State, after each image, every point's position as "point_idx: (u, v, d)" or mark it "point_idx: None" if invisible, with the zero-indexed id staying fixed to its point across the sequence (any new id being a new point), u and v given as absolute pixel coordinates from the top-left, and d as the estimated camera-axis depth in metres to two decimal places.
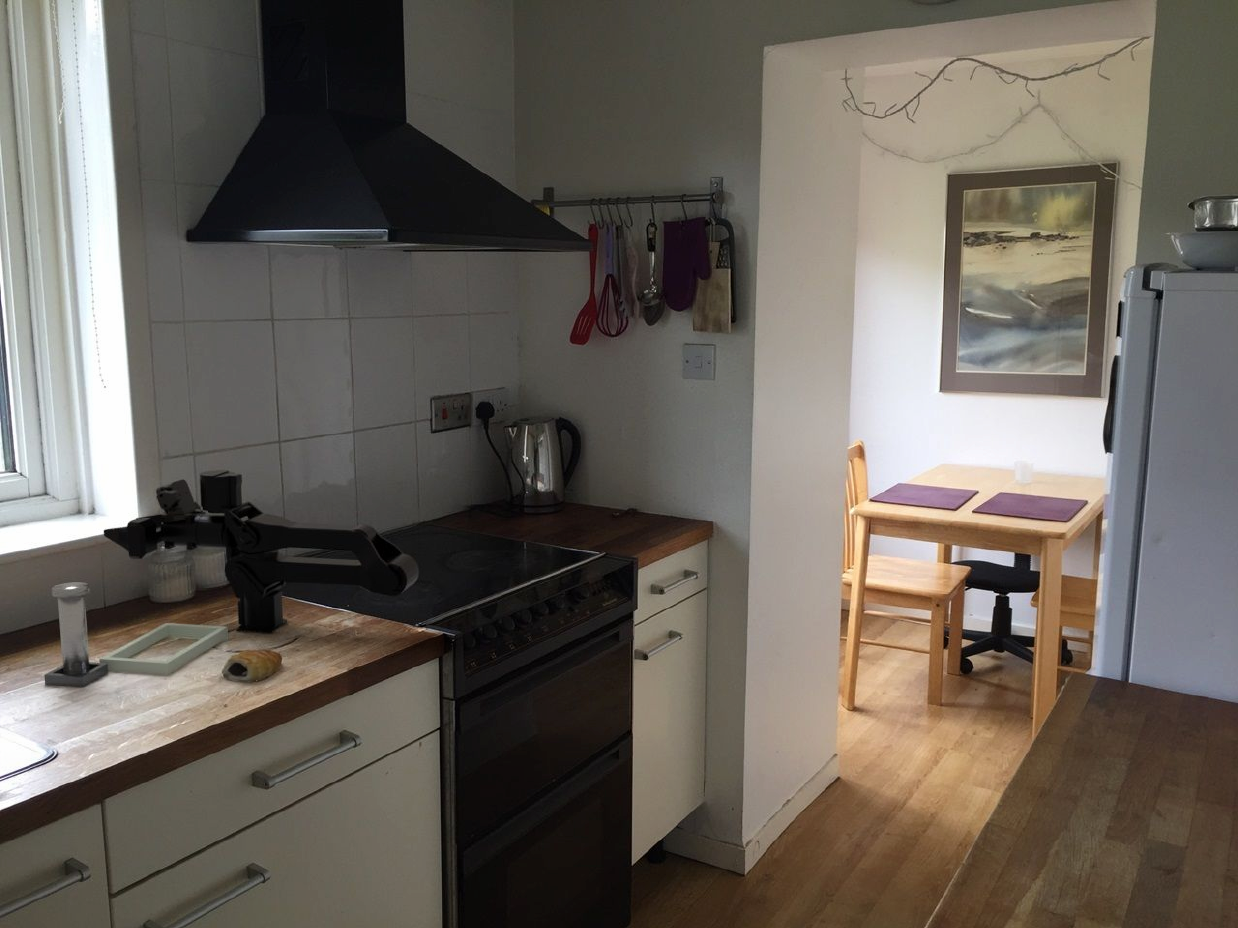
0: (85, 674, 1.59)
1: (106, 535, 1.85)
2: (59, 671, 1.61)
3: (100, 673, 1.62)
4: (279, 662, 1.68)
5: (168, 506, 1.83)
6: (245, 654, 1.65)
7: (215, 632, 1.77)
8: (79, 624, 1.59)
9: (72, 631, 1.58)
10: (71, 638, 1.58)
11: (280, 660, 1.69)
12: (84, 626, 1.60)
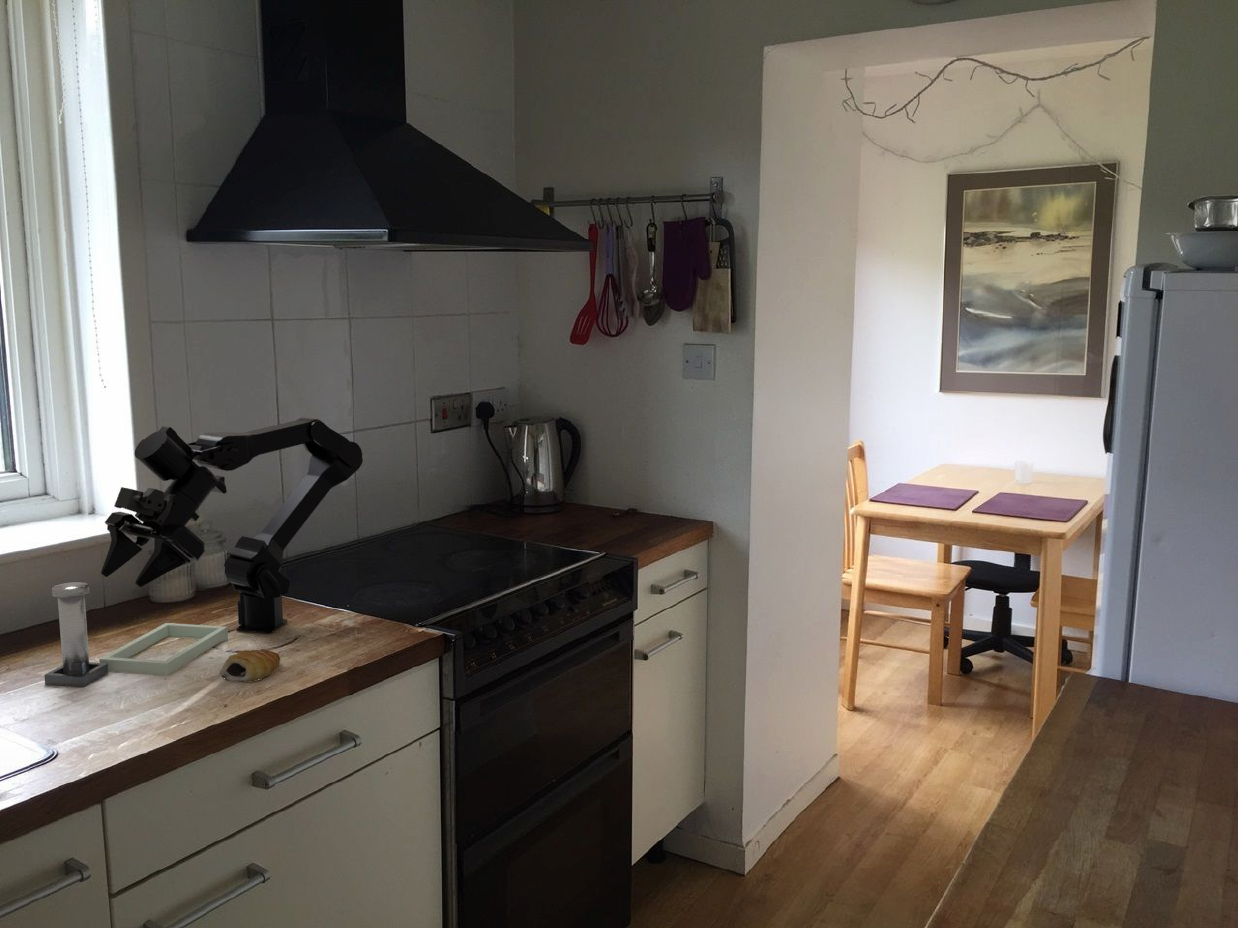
0: (85, 674, 1.59)
1: (143, 583, 1.64)
2: (59, 671, 1.61)
3: (100, 673, 1.62)
4: (277, 662, 1.68)
5: (162, 502, 1.66)
6: (243, 654, 1.65)
7: (215, 632, 1.77)
8: (79, 624, 1.59)
9: (72, 631, 1.58)
10: (71, 638, 1.58)
11: (278, 660, 1.69)
12: (84, 626, 1.60)
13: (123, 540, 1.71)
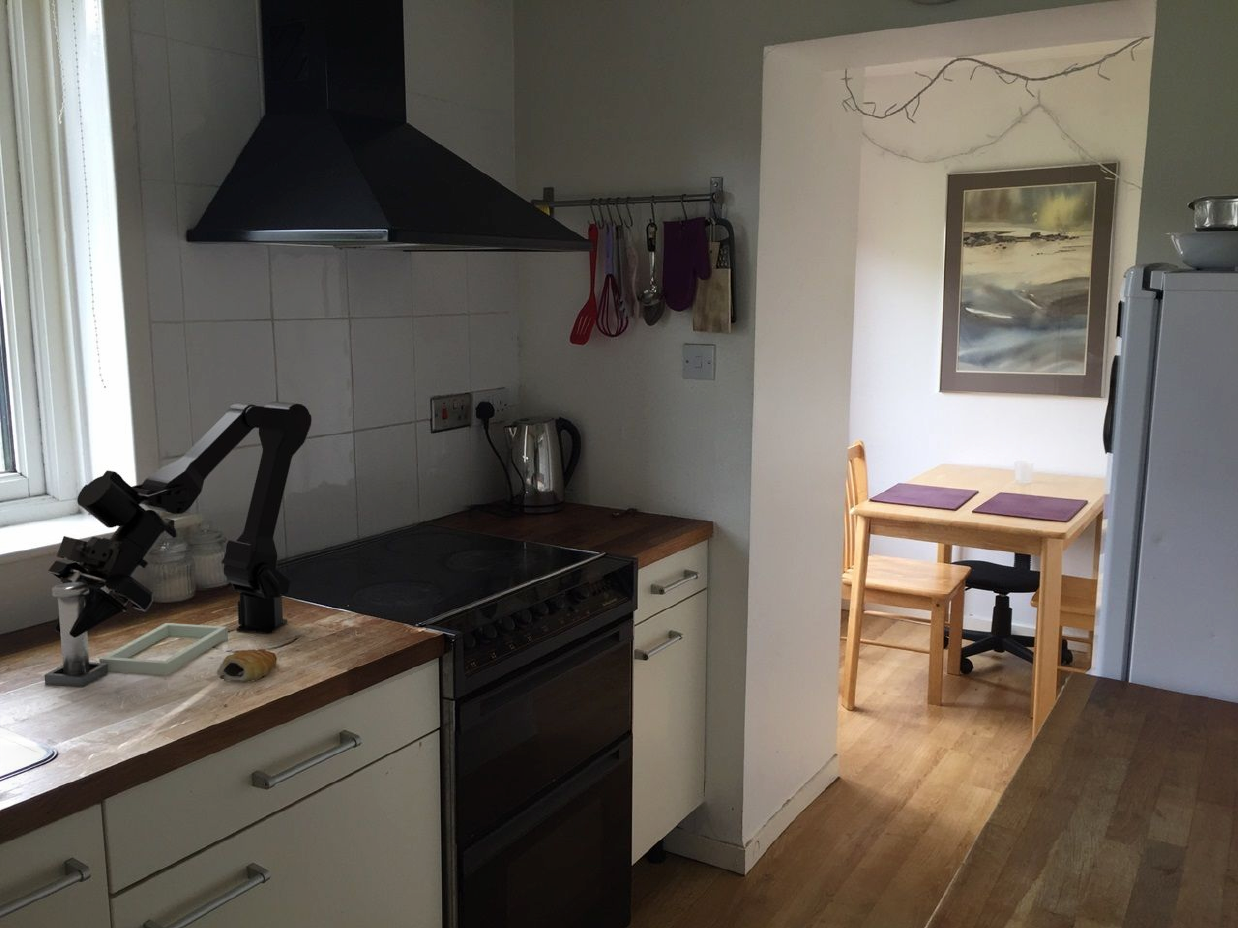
0: (85, 674, 1.59)
1: (78, 634, 1.58)
2: (59, 671, 1.61)
3: (100, 673, 1.62)
4: (274, 662, 1.68)
5: (107, 551, 1.58)
6: (240, 654, 1.65)
7: (215, 632, 1.77)
8: None
9: None
10: (71, 638, 1.58)
11: (275, 660, 1.69)
12: None
13: None
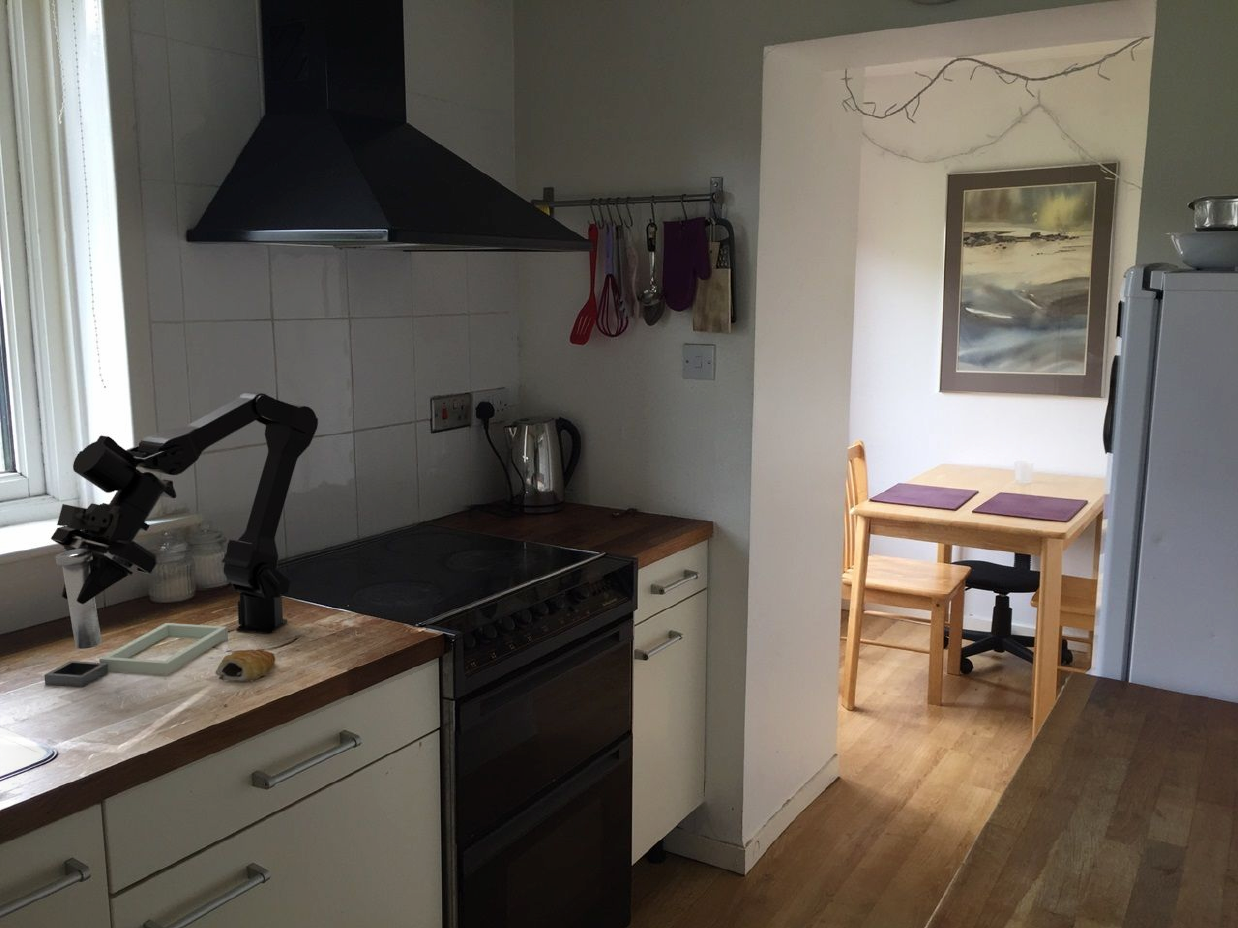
0: (85, 674, 1.59)
1: (85, 600, 1.58)
2: (59, 671, 1.61)
3: (100, 673, 1.62)
4: (272, 662, 1.68)
5: (107, 517, 1.58)
6: (239, 654, 1.65)
7: (215, 632, 1.77)
8: None
9: None
10: (79, 605, 1.59)
11: (273, 660, 1.69)
12: None
13: None
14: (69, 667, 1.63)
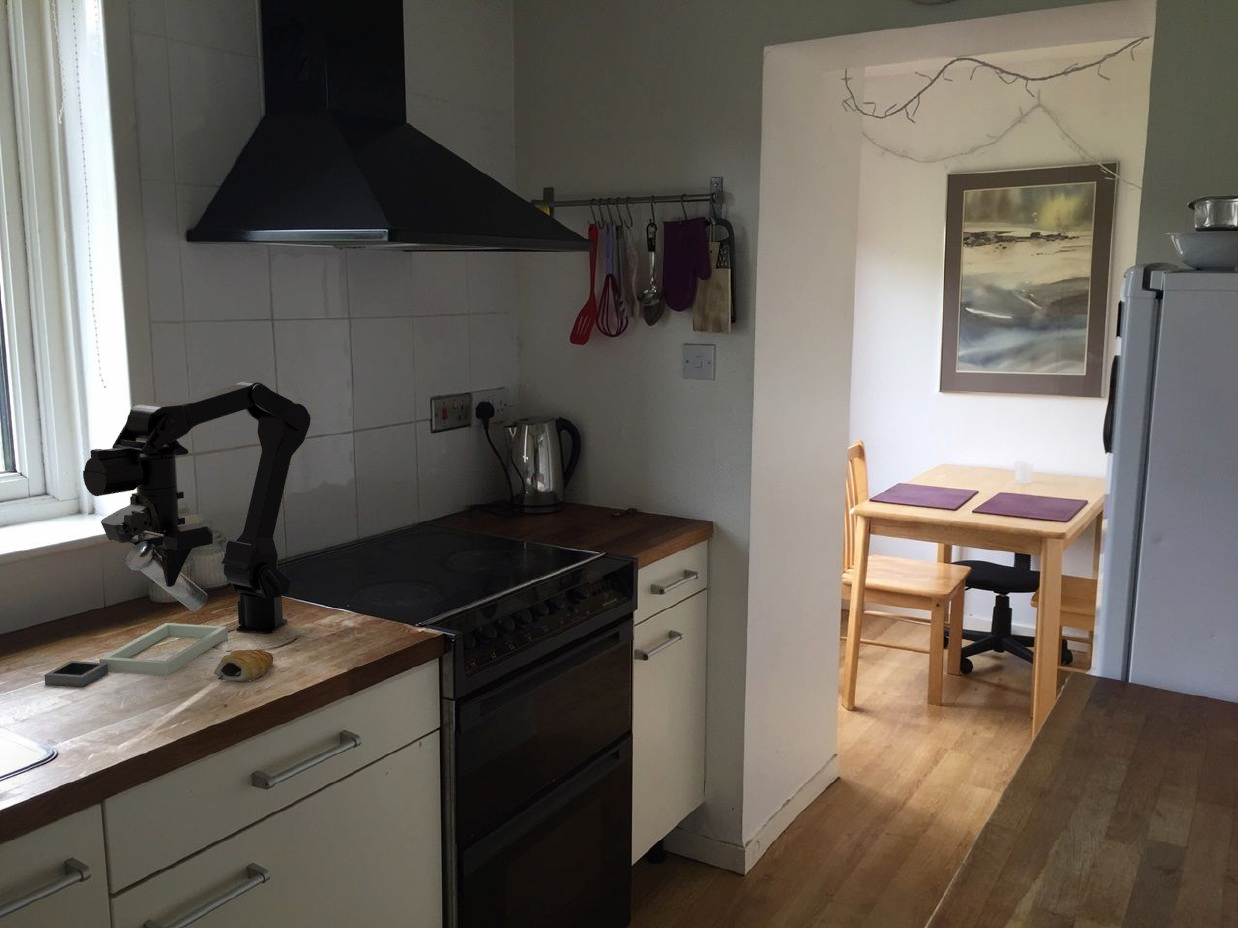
0: (85, 674, 1.59)
1: (173, 582, 1.70)
2: (59, 671, 1.61)
3: (100, 673, 1.62)
4: (271, 662, 1.69)
5: (146, 519, 1.63)
6: (238, 654, 1.65)
7: (215, 632, 1.77)
8: None
9: None
10: (171, 586, 1.71)
11: (272, 660, 1.69)
12: None
13: None
14: (69, 667, 1.63)
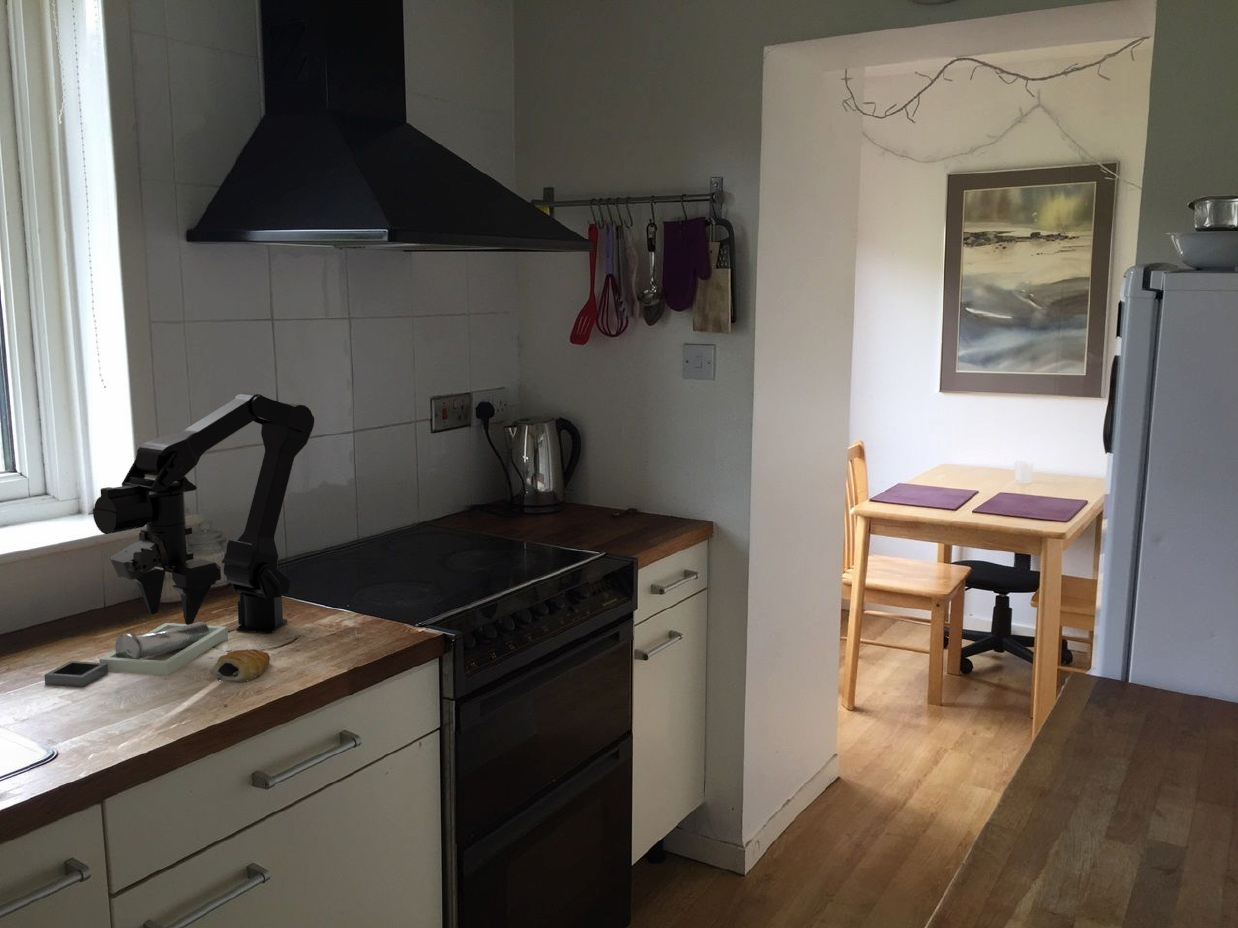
0: (85, 674, 1.59)
1: (192, 620, 1.70)
2: (59, 671, 1.61)
3: (100, 673, 1.62)
4: (268, 661, 1.69)
5: (155, 556, 1.65)
6: (235, 654, 1.65)
7: (215, 632, 1.77)
8: (163, 645, 1.70)
9: (166, 649, 1.71)
10: (171, 649, 1.72)
11: (268, 659, 1.69)
12: (165, 638, 1.70)
13: (145, 577, 1.74)
14: (69, 667, 1.63)
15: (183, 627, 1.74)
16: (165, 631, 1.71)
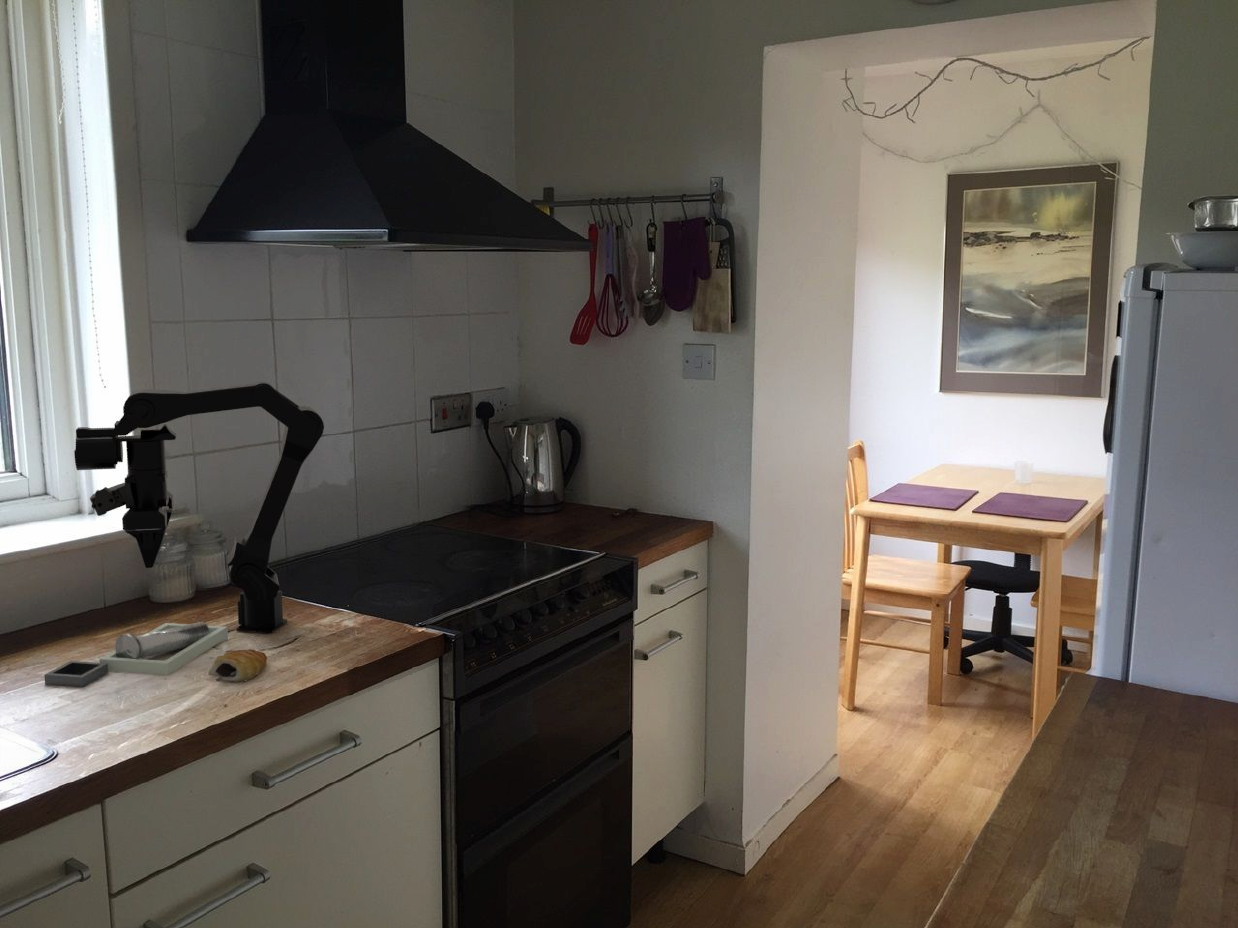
0: (85, 674, 1.59)
1: (151, 564, 1.76)
2: (59, 671, 1.61)
3: (100, 673, 1.62)
4: (265, 661, 1.69)
5: (111, 496, 1.73)
6: (232, 654, 1.65)
7: (215, 632, 1.77)
8: (163, 645, 1.70)
9: (166, 649, 1.71)
10: (171, 649, 1.72)
11: (265, 659, 1.69)
12: (165, 638, 1.70)
13: None
14: (69, 667, 1.63)
15: (183, 627, 1.74)
16: (165, 631, 1.71)
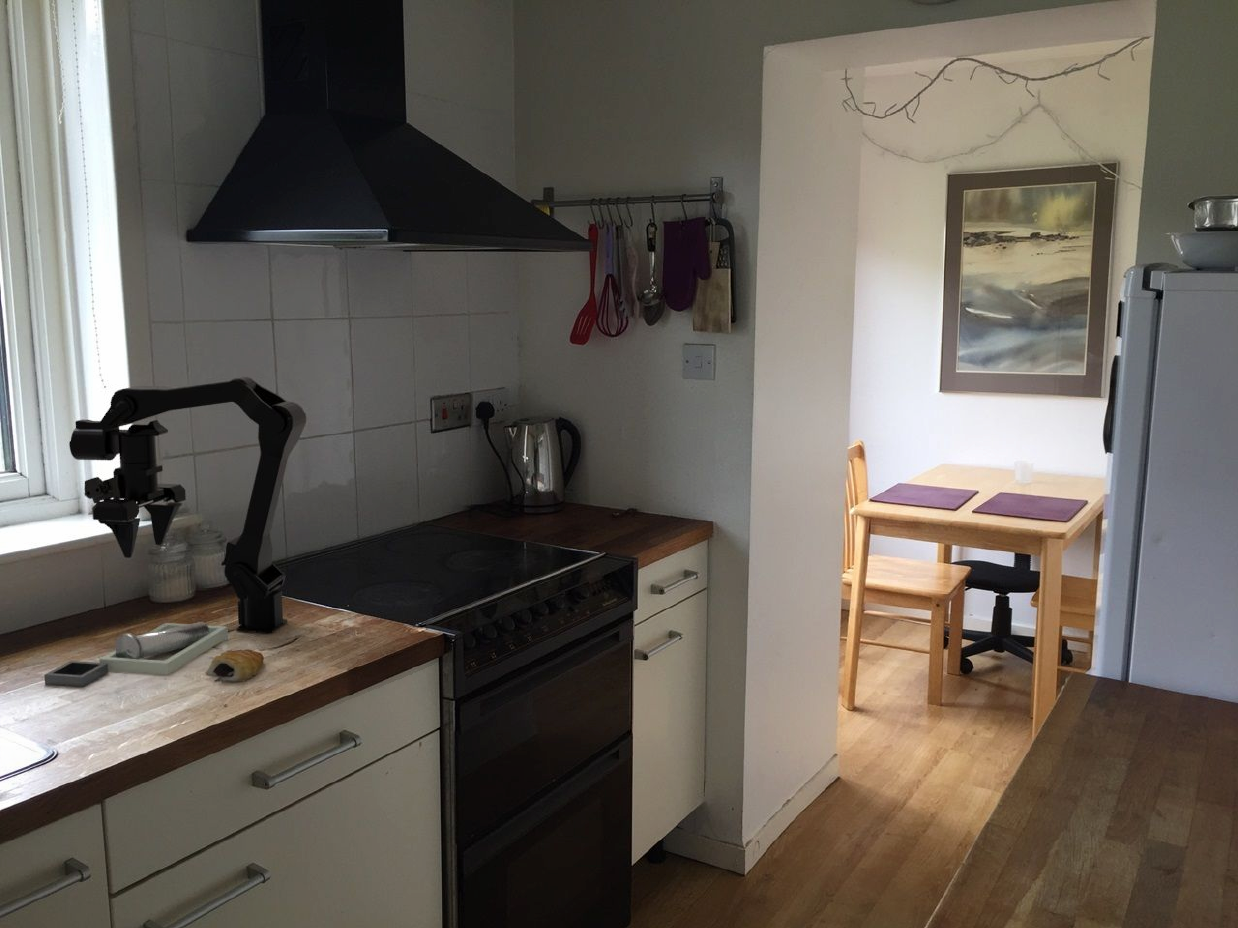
0: (85, 674, 1.59)
1: (128, 554, 1.82)
2: (59, 671, 1.61)
3: (100, 673, 1.62)
4: (262, 661, 1.69)
5: (97, 486, 1.82)
6: (229, 654, 1.65)
7: (215, 632, 1.77)
8: (163, 645, 1.70)
9: (166, 649, 1.71)
10: (171, 649, 1.72)
11: (262, 659, 1.69)
12: (165, 638, 1.70)
13: (154, 510, 1.91)
14: (69, 667, 1.63)
15: (183, 627, 1.74)
16: (165, 631, 1.71)
